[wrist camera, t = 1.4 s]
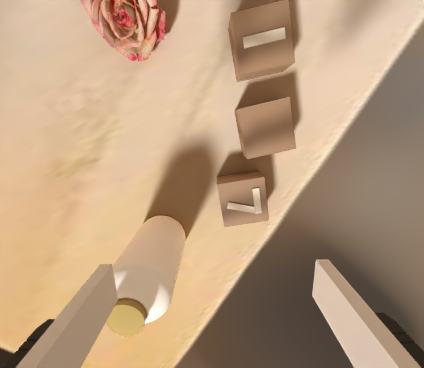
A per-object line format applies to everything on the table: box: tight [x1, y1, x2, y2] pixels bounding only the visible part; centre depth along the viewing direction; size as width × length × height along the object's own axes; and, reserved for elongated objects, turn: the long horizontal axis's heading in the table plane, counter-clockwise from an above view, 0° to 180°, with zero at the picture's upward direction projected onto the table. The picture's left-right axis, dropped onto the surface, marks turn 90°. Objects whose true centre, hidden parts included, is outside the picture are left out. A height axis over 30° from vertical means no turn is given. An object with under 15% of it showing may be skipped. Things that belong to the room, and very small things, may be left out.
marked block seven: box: [217, 170, 269, 227], centre depth 35 cm, size 7×7×5 cm
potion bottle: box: [106, 215, 186, 336], centre depth 31 cm, size 8×8×18 cm
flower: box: [81, 0, 166, 61], centre depth 28 cm, size 10×9×8 cm
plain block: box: [235, 97, 296, 159], centre depth 32 cm, size 7×7×5 cm
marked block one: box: [228, 0, 295, 82], centre depth 29 cm, size 7×7×5 cm
